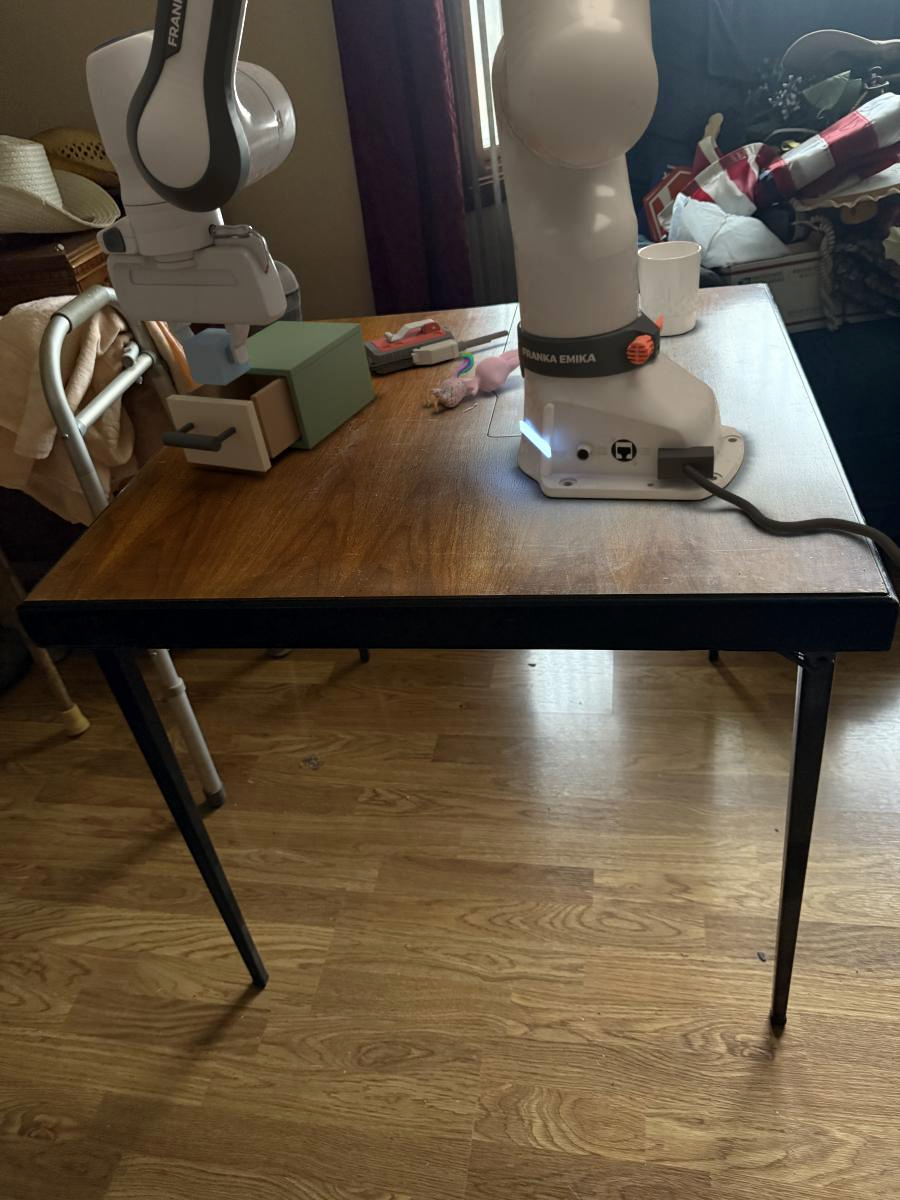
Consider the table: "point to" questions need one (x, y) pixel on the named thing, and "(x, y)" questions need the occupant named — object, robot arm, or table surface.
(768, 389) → the table surface
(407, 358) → the toy chainsaw
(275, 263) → the beverage cup
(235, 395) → the drawer
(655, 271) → the white cup
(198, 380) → the block
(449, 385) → the pink unicorn toy
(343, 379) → the cabinet
